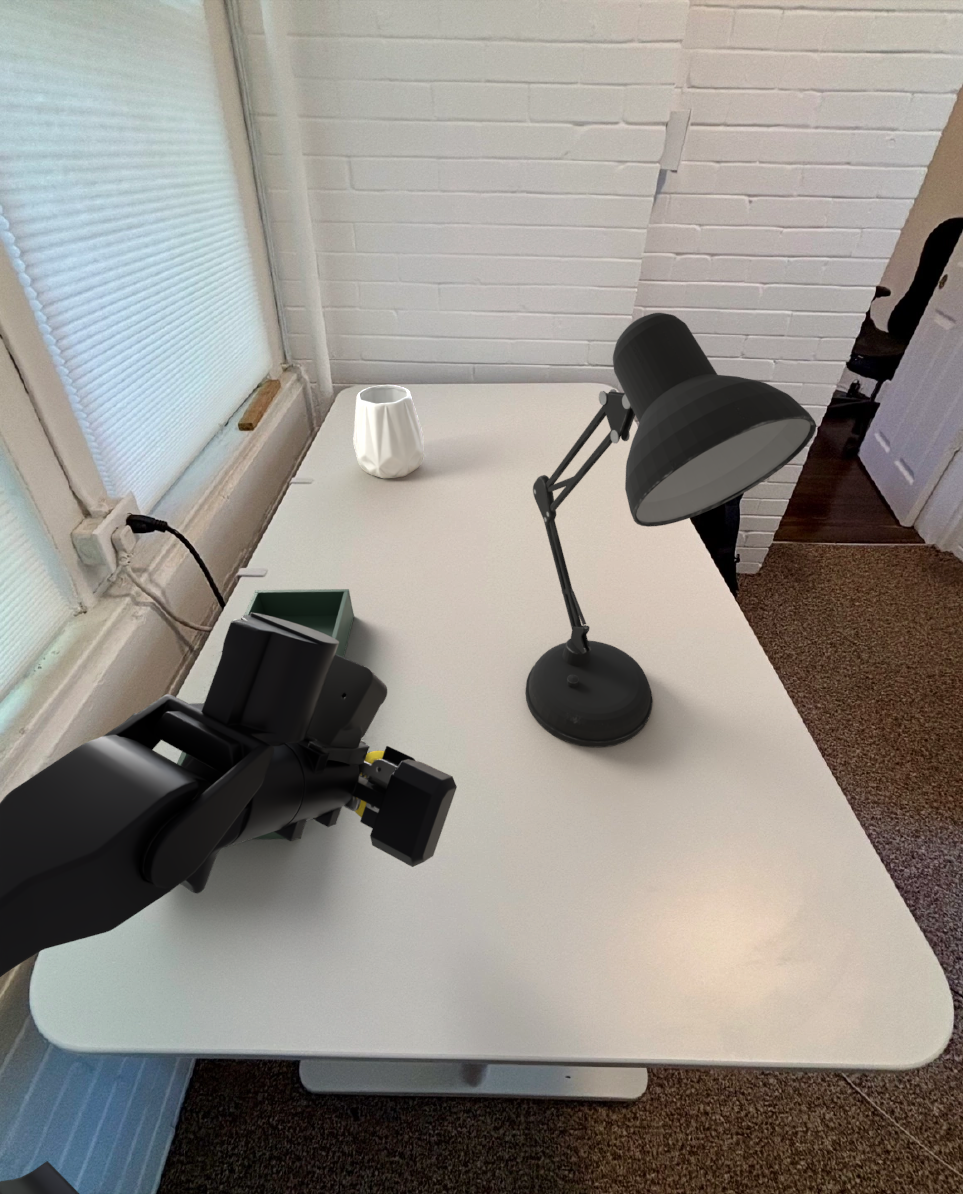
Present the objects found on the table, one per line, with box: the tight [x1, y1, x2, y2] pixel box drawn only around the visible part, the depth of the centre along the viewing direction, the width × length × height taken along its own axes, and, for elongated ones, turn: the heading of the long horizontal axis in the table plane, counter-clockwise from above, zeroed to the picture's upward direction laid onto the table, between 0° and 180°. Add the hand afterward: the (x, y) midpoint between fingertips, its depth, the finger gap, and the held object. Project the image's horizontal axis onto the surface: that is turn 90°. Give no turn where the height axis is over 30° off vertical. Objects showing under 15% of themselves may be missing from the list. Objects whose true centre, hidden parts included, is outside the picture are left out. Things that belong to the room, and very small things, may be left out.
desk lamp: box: [525, 312, 817, 748], centre depth 59 cm, size 24×26×45 cm
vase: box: [352, 384, 425, 479], centre depth 117 cm, size 14×14×15 cm
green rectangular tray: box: [176, 588, 355, 840], centre depth 72 cm, size 34×13×5 cm, turn 0°
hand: (385, 758), depth 52 cm, fingers closed on lemon, 4 cm apart
